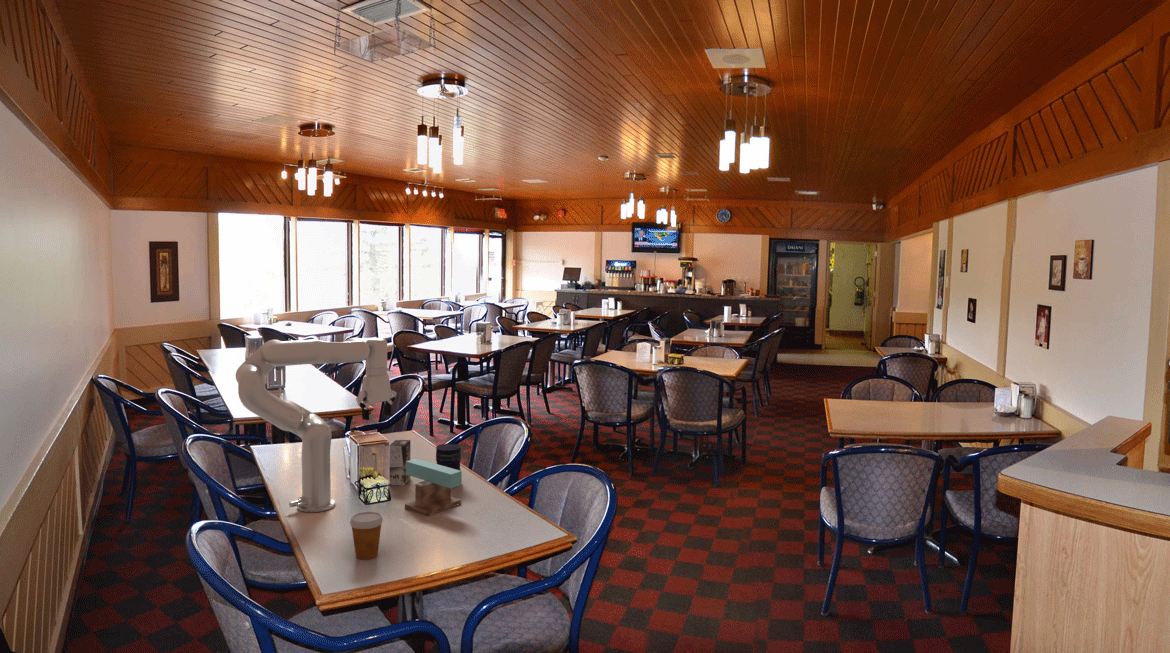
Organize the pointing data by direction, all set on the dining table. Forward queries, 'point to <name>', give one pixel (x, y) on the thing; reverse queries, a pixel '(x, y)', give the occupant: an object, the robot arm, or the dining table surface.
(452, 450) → the storage jar
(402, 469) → the coffee box
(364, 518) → the disposable coffee cup
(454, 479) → the teal bar
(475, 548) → the dining table surface
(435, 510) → the walnut ridge stand
